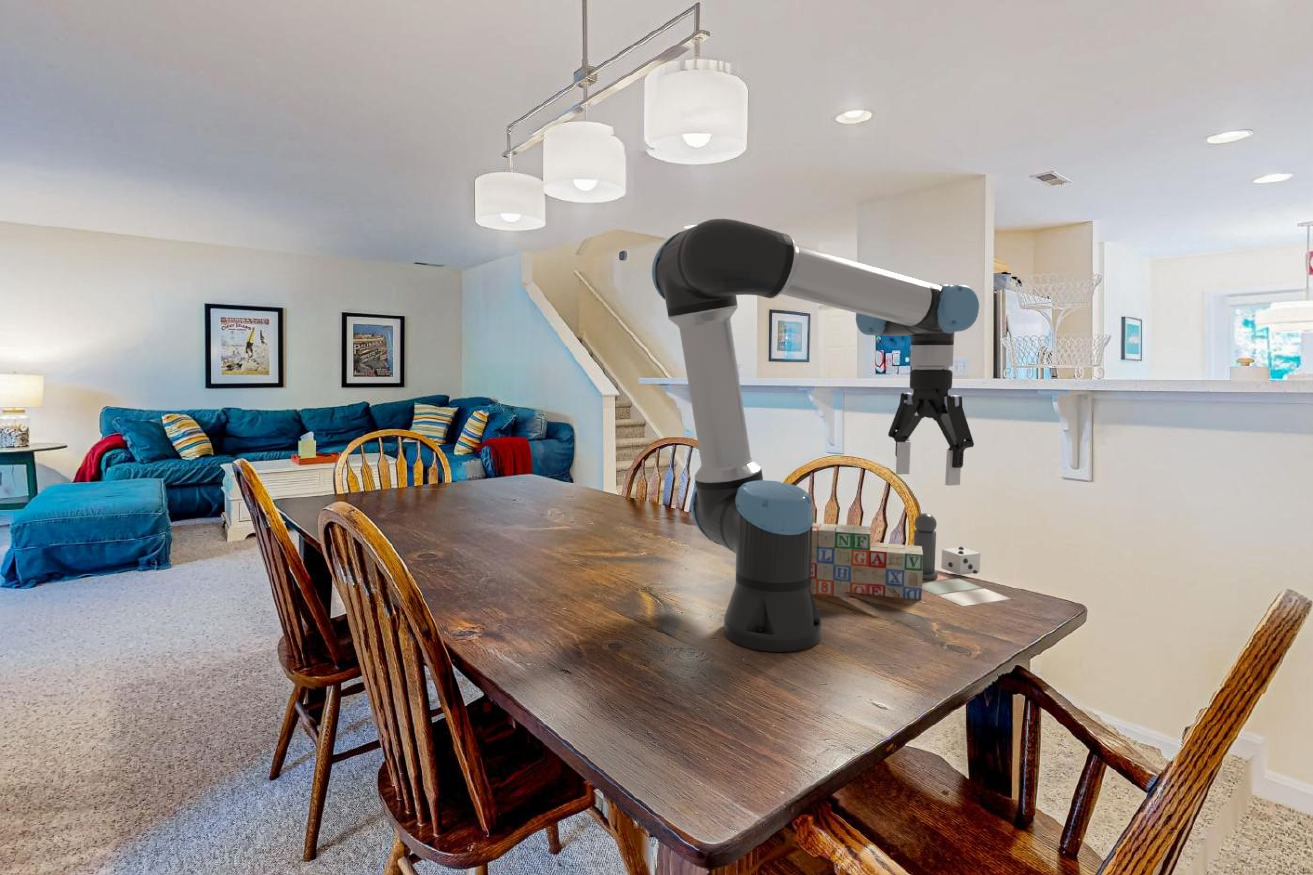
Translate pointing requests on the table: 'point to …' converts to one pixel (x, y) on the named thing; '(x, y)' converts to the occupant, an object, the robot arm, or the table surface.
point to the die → (960, 561)
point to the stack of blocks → (863, 564)
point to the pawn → (926, 543)
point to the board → (960, 585)
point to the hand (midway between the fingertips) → (926, 479)
